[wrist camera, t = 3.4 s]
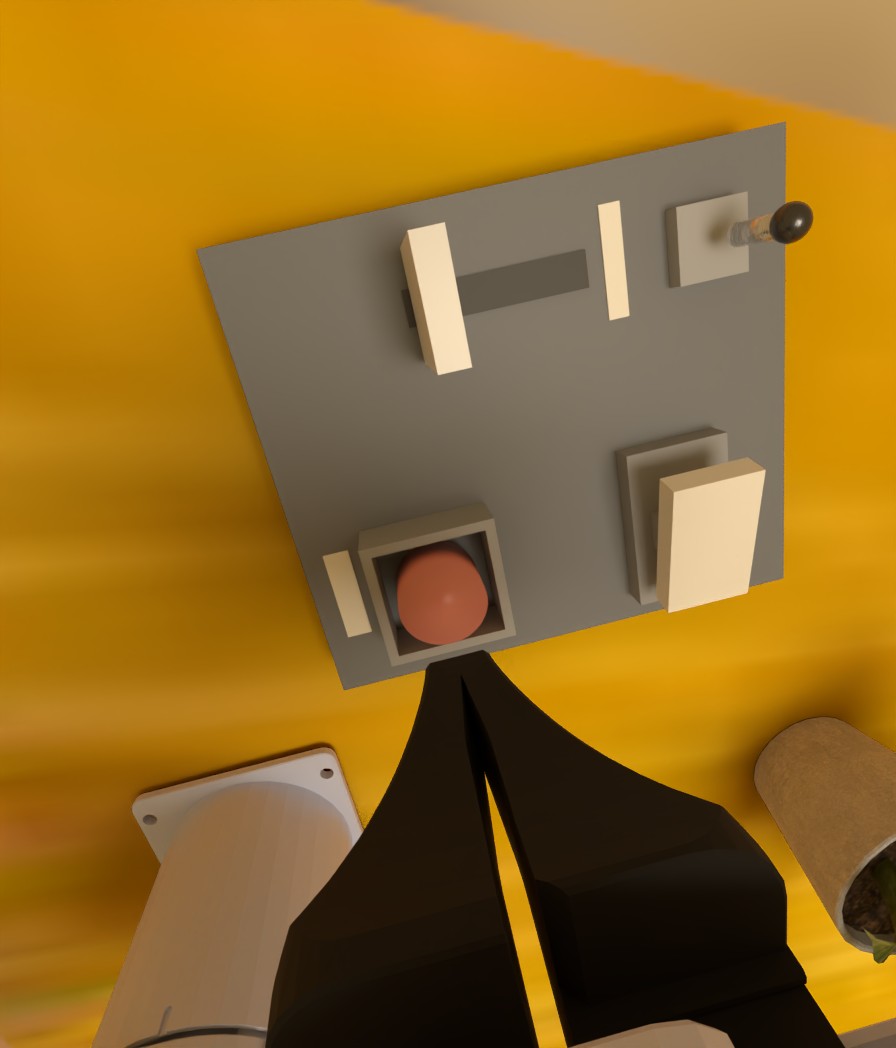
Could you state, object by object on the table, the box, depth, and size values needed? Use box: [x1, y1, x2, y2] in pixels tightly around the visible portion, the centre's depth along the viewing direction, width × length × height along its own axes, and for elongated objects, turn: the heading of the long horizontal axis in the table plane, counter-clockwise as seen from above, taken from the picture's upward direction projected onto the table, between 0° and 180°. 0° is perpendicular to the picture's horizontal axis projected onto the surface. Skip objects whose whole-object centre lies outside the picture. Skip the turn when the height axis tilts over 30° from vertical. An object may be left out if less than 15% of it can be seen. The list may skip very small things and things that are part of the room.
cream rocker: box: [656, 457, 766, 613], centre depth 17 cm, size 4×3×1 cm, turn 12°
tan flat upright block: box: [400, 222, 472, 375], centre depth 14 cm, size 3×1×3 cm, turn 12°
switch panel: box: [196, 122, 786, 690], centre depth 18 cm, size 14×16×4 cm
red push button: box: [396, 541, 488, 645], centre depth 17 cm, size 3×3×2 cm
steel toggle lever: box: [726, 201, 813, 247], centre depth 14 cm, size 1×1×2 cm
